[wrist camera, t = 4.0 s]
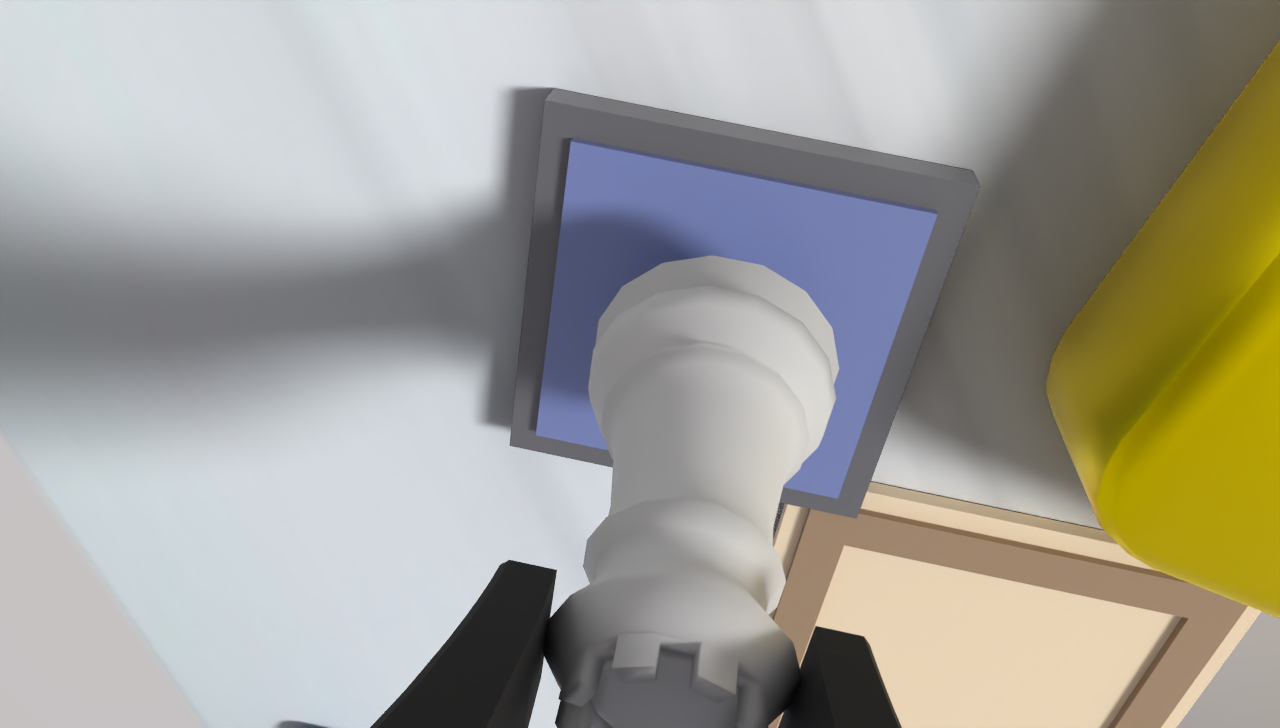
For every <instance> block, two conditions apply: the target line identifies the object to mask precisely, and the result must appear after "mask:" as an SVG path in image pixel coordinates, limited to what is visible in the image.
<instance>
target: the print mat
mask: <svg viewBox="0 0 1280 728" xmlns="http://www.w3.org/2000/svg"><path fill="white" fill-rule="evenodd" d="M773 547H774V548H775V549H776V550H777V551H778V552H779V554H780V558H781V562H782V567H783V571H784V575H785V579H786V583H785V586H784V589H783V592H782V595H781V598H780V600H779V603H778V606H777V608H776V609H775V610H773V611H772V612H771V613H770V614H769V616H770V617H771V618H772V619H773V621H774V622H775V623H776V624H777V625H778V626H779V627H780V628H781V629H782V631H783V632H784V633H785V634H786V635H787V636H788V637H789V638H790V640H791V641H792V642H793V643H794V647H795V651H796V655H797V659H798V663H799V667H800V666H801V664H802V661H803V658H804V656H805V653H806V650H807V647H808V645H809V642H810V639H811V637H812V634H813V631H814V629H815V626H818V627H823V628H828V629H832V630H837V631H842V632H846V633H851V634H856V635H860V636H864V637H865V639H866V640H867V641H868V643H869V644H870V647H871V650H872V652H873V655H874V658H875V661H876V663H877V666H878V669H879V671H880V674H881V677H882V679H883V682H884V685H885V687H886V690H887V692H888V695H889V697H890V700H891V702H892V705H893V707H894V710H895V712H896V715H897V717H898V720H899V722H900V724H901V727H902V728H1176V727H1177V726H1178V725H1179V723H1180V722H1181V721H1182V719H1183V718H1184V717H1185V715H1186V714H1187V712H1188V711H1189V710H1190V708H1191V707H1192V706H1193V704H1194V703H1195V701H1196V700H1197V699H1198V697H1199V696H1200V695H1201V693H1202V692H1203V691H1204V689H1205V687H1206V686H1207V685H1208V684H1209V682H1210V681H1211V680H1212V678H1213V677H1214V675H1215V674H1216V673H1217V671H1218V670H1219V669H1220V667H1221V666H1222V665H1223V663H1224V662H1225V660H1226V659H1227V658H1228V656H1229V655H1230V654H1231V652H1232V651H1233V649H1234V648H1235V647H1236V645H1237V644H1238V643H1239V641H1240V640H1241V638H1242V637H1243V635H1244V634H1245V633H1246V632H1247V630H1248V629H1249V627H1250V626H1251V625H1252V623H1253V622H1254V621H1255V619H1256V618H1257V617H1258V615H1259V614H1260V612H1261V611H1260V610H1257V609H1254V608H1252V607H1249V606H1247V605H1244V604H1242V603H1239V602H1237V601H1234V600H1231V599H1229V598H1226V597H1224V596H1221V595H1219V594H1216V593H1214V592H1211V591H1209V590H1206V589H1203V588H1201V587H1198V586H1196V585H1193V584H1191V583H1188V582H1186V581H1183V580H1180V579H1178V578H1175V577H1173V576H1170V575H1168V574H1165V573H1163V572H1160V571H1157V570H1155V569H1153V568H1151V567H1149V566H1147V565H1146V564H1144V563H1142V562H1141V561H1139V560H1137V559H1136V558H1134V557H1132V556H1130V555H1129V554H1127V553H1126V552H1125V551H1124V550H1123V549H1122V548H1121V546H1120V545H1119V544H1118V543H1117V542H1116V541H1115V540H1114V539H1113V538H1112V537H1111V536H1110V535H1109V534H1108V533H1107V532H1106V531H1103V530H1098V529H1094V528H1089V527H1084V526H1079V525H1074V524H1070V523H1065V522H1060V521H1055V520H1051V519H1046V518H1041V517H1036V516H1032V515H1027V514H1022V513H1017V512H1012V511H1008V510H1003V509H998V508H993V507H989V506H984V505H979V504H974V503H970V502H965V501H960V500H955V499H950V498H946V497H941V496H936V495H931V494H927V493H922V492H917V491H912V490H907V489H903V488H898V487H893V486H888V485H884V484H879V483H874V482H870V484H869V487H868V490H867V492H866V495H865V498H864V500H863V503H862V506H861V509H860V511H859V514H858V517H857V519H855V518H850V517H846V516H841V515H836V514H831V513H827V512H822V511H817V510H812V509H808V508H803V507H798V506H793V505H789V504H784V507H783V510H782V513H781V516H780V519H779V523H778V526H777V529H776V532H775V535H774V539H773ZM782 715H783V713H782V714H781V715H779V716H778V717H777V718H776V719H775V720H774V721H773V722H772V723H771V724H769V725H768V728H778V726H779V723H780V721H781V718H782Z"/></svg>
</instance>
